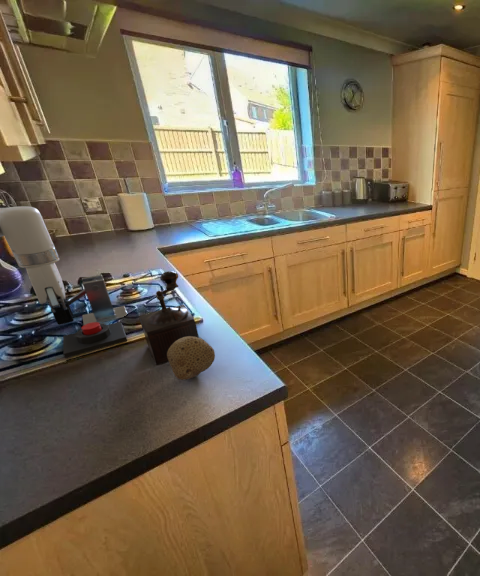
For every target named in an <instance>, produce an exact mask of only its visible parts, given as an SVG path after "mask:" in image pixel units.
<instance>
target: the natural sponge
mask: <svg viewBox="0 0 480 576" xmlns="http://www.w3.org/2000/svg"><path fill="white" fill-rule="evenodd" d="M215 357H216V351H215V349H214V348H213V347H212V346H211V345H210V344H209V343H208V342H207V341H206V340H205V339H202V338H201V337H199V338H198V337H192V336H187V337H183V338H181V339H178V340H177V341H175V342H174V343H173V344H172V345H171V346H170V348H169V349H168V352H167V358H168V361H169V362H168V363H169V366H170V368H171V370H172V373H173V375H174V376H175V378H176V379H178V380H181V381H187V380H189V379H194V378H196V377H197V376H199V375H200V374H201V373H202V372H205V371H206V370H208V369H209V368H211V366H212V365H213V364H214V362H215Z"/></svg>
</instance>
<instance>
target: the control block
mask: <svg viewBox="0 0 480 576" xmlns="http://www.w3.org/2000/svg"><path fill="white" fill-rule="evenodd" d="M100 326H101V328H102V330H101V331H100V332H97V333H95V334H91V335H84V334H83V331H82V328H80V329H79V330H78V331H76V332H74V333H70V334H69V333H68V334H65V335H63V336H62V345H63V346H62V347H63V357H64V358H65V361H66V362H69V361H73V360H76V359H79V358H84V357H88V356H90V355H94V354H97V353H101V352H104V351H108V350H112V349H115V348H118V347H122V346H125V345H129V342H128V338H127V336H126V333H125V329H124V326H123V323H122V321H118V322H114V323H109V324H105V323H100ZM124 342H125V343H124ZM120 343H122V344H120ZM110 346H111V347H110ZM92 351H93V352H92ZM85 353H86V354H85ZM82 354H83V355H82ZM71 357H72V358H71Z"/></svg>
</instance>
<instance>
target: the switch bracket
mask: <svg viewBox="0 0 480 576" xmlns="http://www.w3.org/2000/svg"><path fill="white" fill-rule="evenodd" d="M103 276H104V275H103V274H97V275H91V276H85V277H82V278H81V280H82V286H83V288H84V289H85V291H86V294H85V295H86V296H87V300H88V302H89V306H90V308H91V310H92V312H90V313H85V314H82V322H83V326H84V325H86V324H88V323H93V322H98V323H100V324H103V323H106V322H110V321H114V320H119V319H122V318H123V319H124V318H125V317H124V316H126V315H127V314H128V311H127V309H126V306H125V305H121V306H117V307H114V306H113V303H112V301H111V297H110V294H109V291H108V288H107V286H106V283H105V279H104V277H103ZM94 278H97V279H98V280H94V281H91V280H92V279H94Z"/></svg>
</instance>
